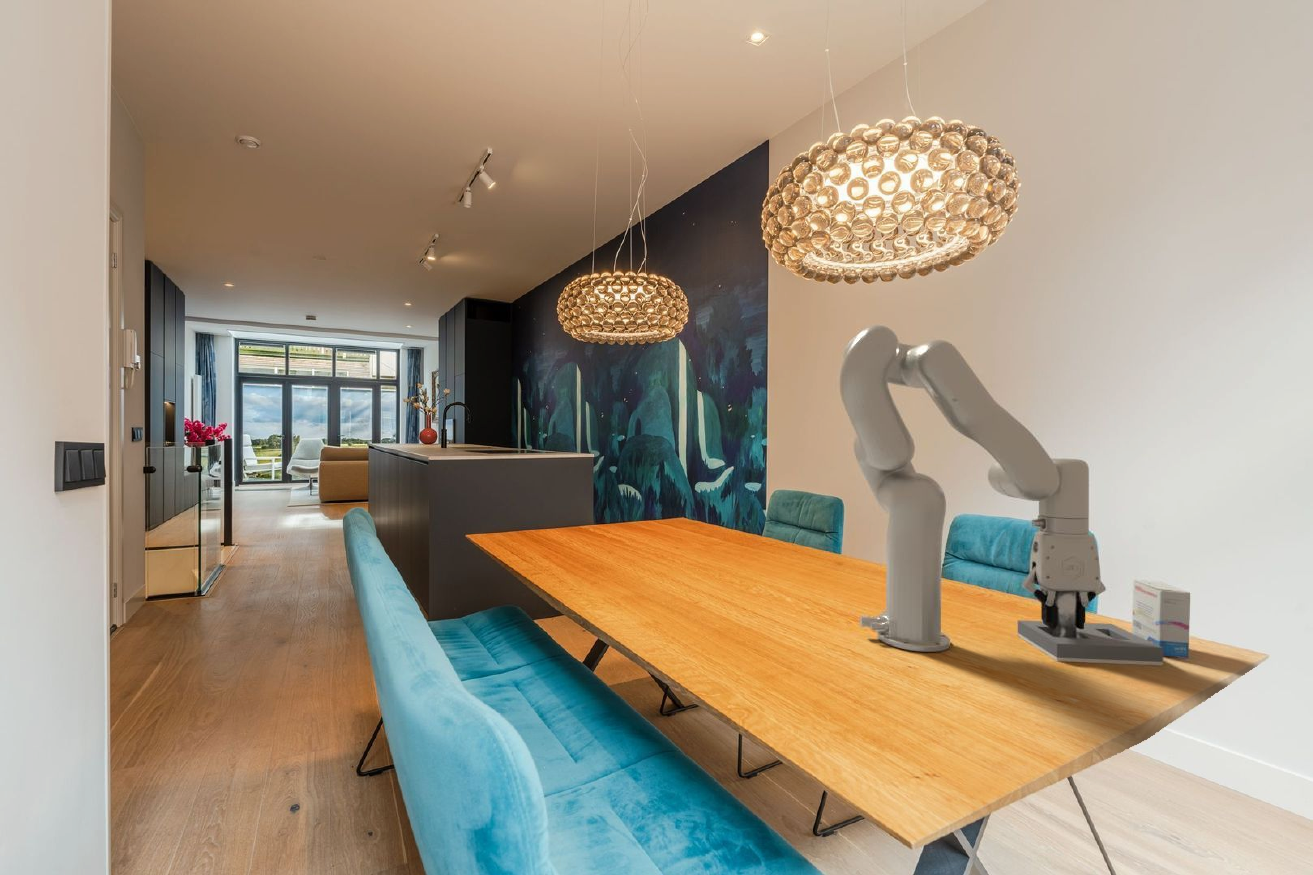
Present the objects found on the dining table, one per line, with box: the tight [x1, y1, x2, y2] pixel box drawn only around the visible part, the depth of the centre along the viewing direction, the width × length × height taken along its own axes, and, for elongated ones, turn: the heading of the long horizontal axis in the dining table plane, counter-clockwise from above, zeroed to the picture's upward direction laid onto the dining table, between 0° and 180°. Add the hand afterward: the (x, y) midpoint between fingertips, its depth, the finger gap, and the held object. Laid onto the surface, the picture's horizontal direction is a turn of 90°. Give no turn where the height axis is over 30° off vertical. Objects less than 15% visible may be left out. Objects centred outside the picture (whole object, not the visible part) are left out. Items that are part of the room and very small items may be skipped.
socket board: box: [1017, 620, 1164, 666], centre depth 107 cm, size 17×13×3 cm
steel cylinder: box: [1050, 591, 1077, 638], centre depth 107 cm, size 4×4×13 cm
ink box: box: [1131, 579, 1191, 659], centre depth 108 cm, size 9×5×12 cm, turn 168°
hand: (1063, 625), depth 107 cm, fingers closed on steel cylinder, 4 cm apart
